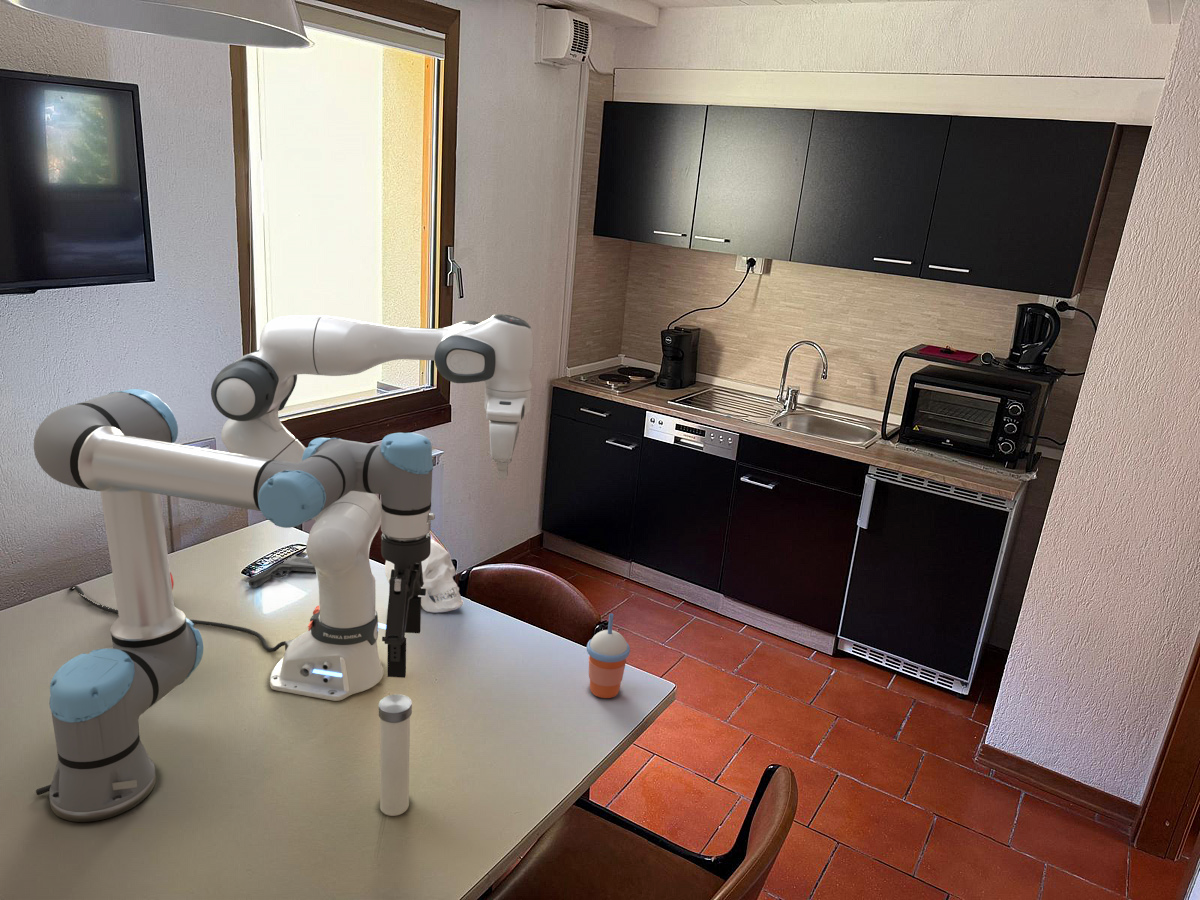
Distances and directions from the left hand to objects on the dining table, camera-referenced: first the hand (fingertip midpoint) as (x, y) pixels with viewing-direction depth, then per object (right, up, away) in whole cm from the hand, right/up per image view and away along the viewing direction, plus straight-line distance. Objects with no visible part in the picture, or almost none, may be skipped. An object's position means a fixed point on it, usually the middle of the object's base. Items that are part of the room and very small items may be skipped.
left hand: (404, 653), depth 139 cm
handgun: (-49, +1, +82) cm, 95 cm away
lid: (-1, -8, -1) cm, 8 cm away
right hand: (+13, +29, +28) cm, 42 cm away
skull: (-12, -5, +74) cm, 76 cm away
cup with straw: (+33, -18, +43) cm, 57 cm away
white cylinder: (-3, -27, +5) cm, 28 cm away
